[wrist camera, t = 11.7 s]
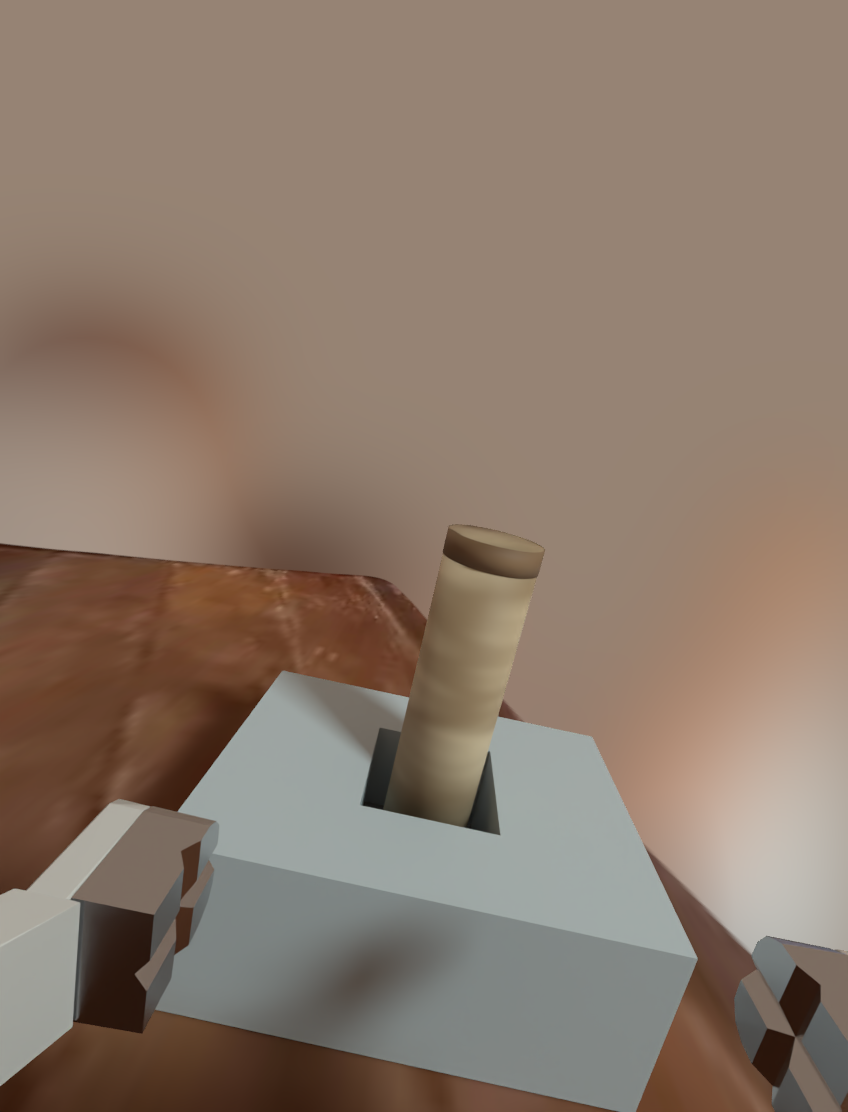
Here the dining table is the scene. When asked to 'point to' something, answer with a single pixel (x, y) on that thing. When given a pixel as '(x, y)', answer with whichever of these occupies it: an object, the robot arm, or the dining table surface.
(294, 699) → the socket block
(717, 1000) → the dining table surface
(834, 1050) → the robot arm
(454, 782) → the dowel pin
